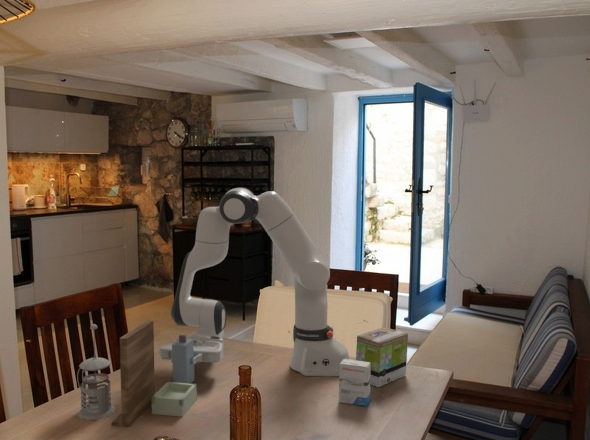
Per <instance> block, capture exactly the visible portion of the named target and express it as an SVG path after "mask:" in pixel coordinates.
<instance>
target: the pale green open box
mask: <svg viewBox="0 0 590 440" xmlns="http://www.w3.org/2000/svg"><path fill="white" fill-rule="evenodd" d="M197 387H198V385H197V383H191V384H189V383H178V382H173V381H167V382H165V384H164V385H162V386H161V388H159V389H158V391H155V394H154V395H153V396H152V405H151V414H152V415H160V416H161V415H162V416H170V417H179V418H180V417H184V416H185V415H186V414H187V412H188V411H189V410H190V409H191V408H192V407H193V405H195V403H196V401H197V400H198V391H197V390H198V388H197Z"/></svg>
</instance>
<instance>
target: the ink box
mask: <svg viewBox="0 0 590 440" xmlns="http://www.w3.org/2000/svg"><path fill="white" fill-rule="evenodd" d="M349 359H350V358H349ZM349 359H343V360H342V362H341V363H340V364H339V376H338V403H341V402H342V404H348V403H349V404H348V405H355V404H356V405H357V406H361V405H363V407H367V406H368V405H369V404H370V401H371V385H370V376H371V362H364V361H356V359H355V360H354V359H352V360H349ZM356 405H355V406H356Z"/></svg>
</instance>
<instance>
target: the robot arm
mask: <svg viewBox="0 0 590 440" xmlns="http://www.w3.org/2000/svg"><path fill="white" fill-rule="evenodd" d="M253 220H256V221H258V222H259V224H261V226H262V228H264V231H265V232H266V233H267V235H268V237H270V239H271V241H272V242H273V244H274V245H275V247H276V248H277V250H278V251H279V253H280V254H281V257H282V258H283V260H284V261H285V263H286V265H287V266H288V267H289V269H290V270H291V272H292V273H293V275H294V324H293V329H292V339H293V347H292V348H293V350H292V356H291V359H290V363H289V367H290V368H291V369H292V370H294V371H295V372H298V373H300V374H301V375H303V376H304V377H308V376H309V377H339V364H340V363H341V362H342V360H343V359H349V360H353V358H352V359H351V358H350V355H349V350H348V347H346V346H345V345H344V344H343V343H342V342H341V341H340V340H338V339H337V338H336V337H334V327H333V326H330V325H329V324H328V308H329V307H328V291H327V290H328V289H327V288H328V287H327V285H328V282H329V280H330V277H331V269H330V267H329V265H328V263H327V260H326V259H325V257H324V256H323V255H322V254H321V252H320V250H319V249H318V248H317V246H316V245H315V243H314V242H313V240H312V239H311V237H310V235H309V233H307V231H306V230H305V227H303V225H302V223H301V222H300V220H299V218H298V217H297V215H296V214H295V213H294V211H293V209H292V208H291V207H290V206H289V204H288V203H287V202H286V201H285V199H284V198H283V197H282V196H280V194H279V193H277V192H276V191H272V190H269V191H265V192H263V193H260V194H259V195H255V193H254V192H253V191H252V190H251V189H250V188H248V187H245V186H237V187H235V188H232V189H229V190H228V191H227V192H225V194H224V195H223V196H222V197H221V199H220V202H219V205H218V206H207V207H205V208H203V209H202V210H200V212H199V215H198V220H197V223H196V230H195V231H196V232H195V242H194V246H193V248H192V249H191V251H189V252H187V253H186V255H185V257H184V259H183V262H182V265H181V270H180V273H179V279H178V282H177V286H176V292H175V296H174V300H173V303H172V306H171V310H170V316H171V318H172V319H171V320H173V322H174V323H175V324H176V325H177V326H183V327H184V326H185V327H189V326H190V327H197V330H196V331H194V332H193V333H192V334H191V335H189V337H186V339H193V347H194V357H191V358H190V364H194V365H196V363H200V362H204V363H221V361H222V360H223V358H224V355H225V344H224V343H225V342H224V338H223V337H224V331H225V330H224V329H225V327H226V324H227V309H226V307H225V306H224V304H223V302H221V301H220V300H215V299H207V298H206V299H205V298H199V297H193V296H191V292H192V291H191V290H192V287H193V281H194V277H195V274H196V272H198V271H201V270H203V269H207V268H210V267H214V266H216V265H218V264H220V263H222V262H223V261H224V260H225V258H226V257H227V255H228V251H229V243H230V241H229V240H230V229H231V226H232V224H234V225H236V224H237V225H238V224H243V223H247V222H249V221H253ZM175 342H176V341H171V342H168V343H166V344H164V345H162V346H161V347H160V348H159V357H160V359H161V360H165V361H167V360H168V361H169V360H170V361H171V363H172V364H173V362H172V344H174V343H175Z"/></svg>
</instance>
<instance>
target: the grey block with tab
mask: <svg viewBox="0 0 590 440" xmlns="http://www.w3.org/2000/svg"><path fill="white" fill-rule="evenodd" d="M174 342H175V343H174V344H172V360H171V363H172V362H173V363H172V382H178V383H189V384H193V382H194V381H195V379H196V378H195V364H190V358H191V357H194V347H193V339H187V335H186V334H185V335H184V334H183V335H182V334H180V335H178V339H177V340H176V341H174Z"/></svg>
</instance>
